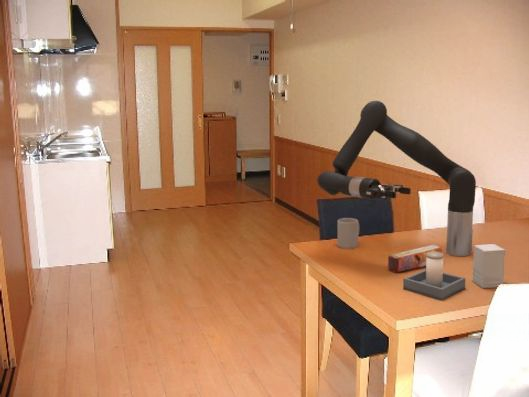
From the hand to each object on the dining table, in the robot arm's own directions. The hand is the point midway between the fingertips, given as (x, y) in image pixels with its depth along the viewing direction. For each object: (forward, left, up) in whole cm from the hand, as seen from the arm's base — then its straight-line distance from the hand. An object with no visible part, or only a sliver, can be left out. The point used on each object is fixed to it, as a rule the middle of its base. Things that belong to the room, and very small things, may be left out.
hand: (402, 193), depth 186 cm
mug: (-17, -37, -30) cm, 50 cm away
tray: (+3, +15, -29) cm, 33 cm away
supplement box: (-13, +25, -30) cm, 41 cm away
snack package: (-11, -2, -30) cm, 32 cm away
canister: (+3, +15, -29) cm, 32 cm away
